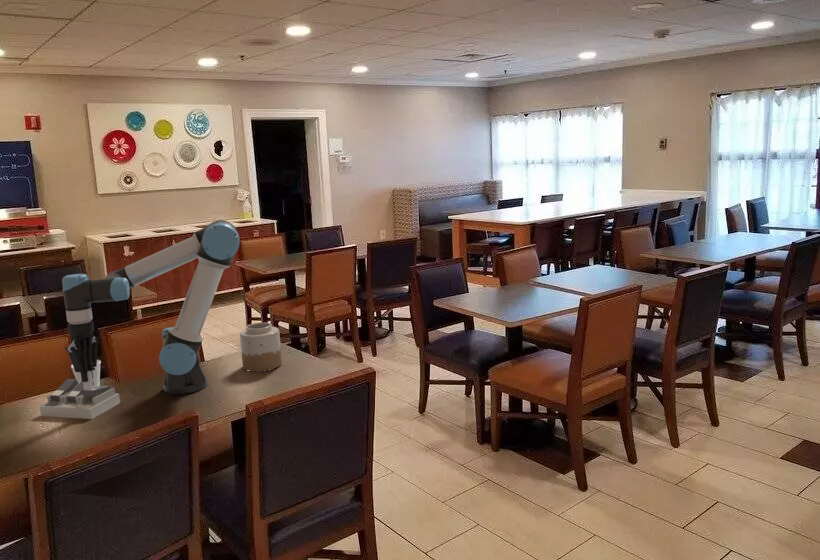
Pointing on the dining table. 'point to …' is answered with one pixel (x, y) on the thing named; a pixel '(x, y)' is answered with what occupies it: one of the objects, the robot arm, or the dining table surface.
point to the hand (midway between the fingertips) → (88, 390)
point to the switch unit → (80, 405)
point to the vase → (260, 347)
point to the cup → (95, 375)
